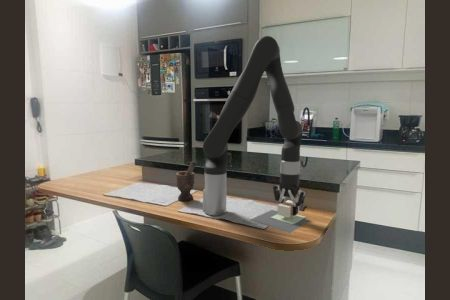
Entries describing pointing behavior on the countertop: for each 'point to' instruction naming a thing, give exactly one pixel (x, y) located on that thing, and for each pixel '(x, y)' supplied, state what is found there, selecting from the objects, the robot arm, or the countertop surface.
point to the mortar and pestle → (186, 182)
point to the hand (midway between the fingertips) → (288, 213)
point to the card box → (286, 208)
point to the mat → (281, 221)
